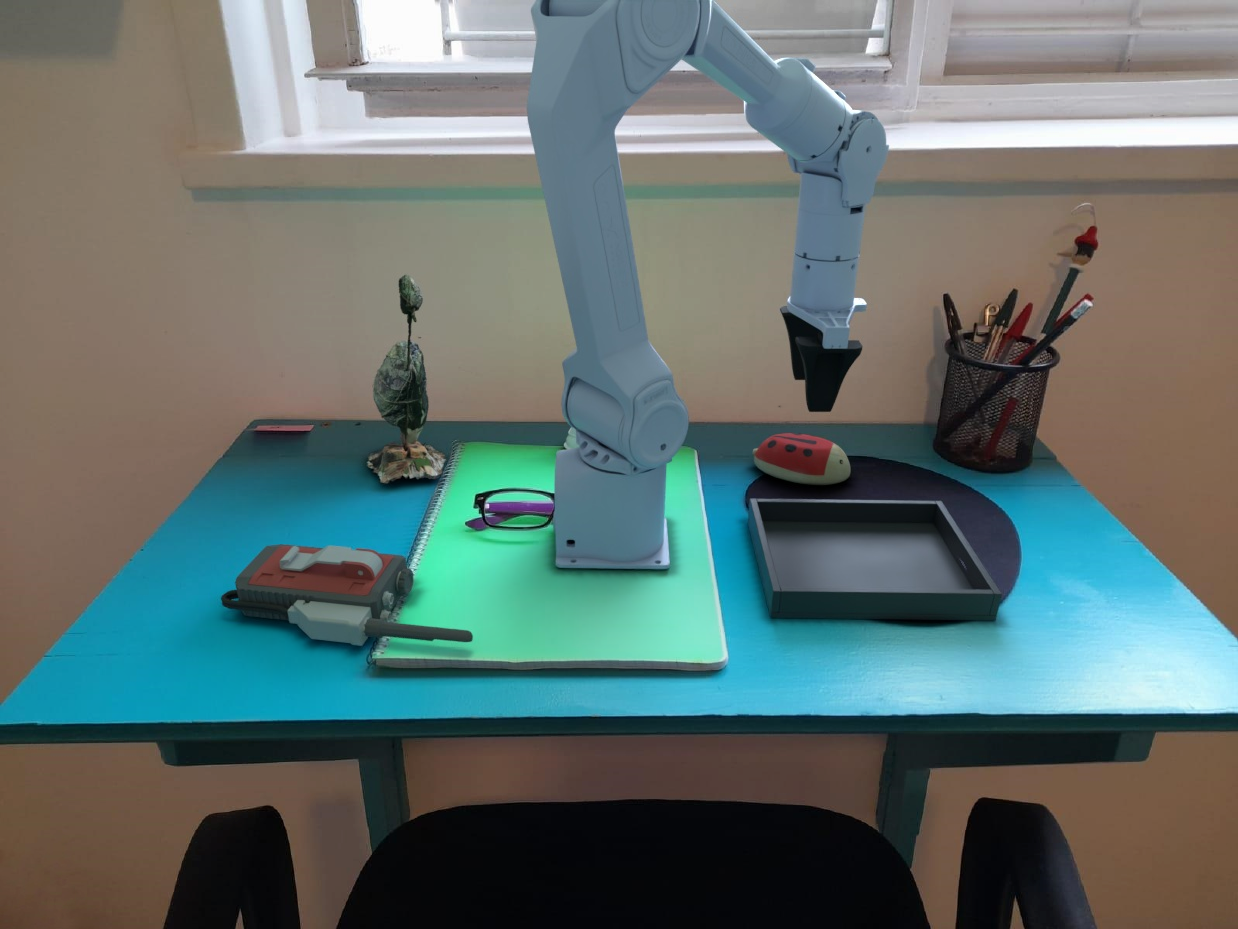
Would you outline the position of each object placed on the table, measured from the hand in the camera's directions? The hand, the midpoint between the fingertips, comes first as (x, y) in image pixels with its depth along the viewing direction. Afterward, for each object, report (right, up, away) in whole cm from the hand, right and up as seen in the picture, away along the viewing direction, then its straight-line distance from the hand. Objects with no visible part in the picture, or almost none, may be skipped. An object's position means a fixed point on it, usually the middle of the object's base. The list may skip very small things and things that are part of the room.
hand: (811, 394), depth 84 cm
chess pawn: (-29, -11, -2) cm, 31 cm away
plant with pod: (-40, -7, +5) cm, 41 cm away
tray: (+2, -15, -11) cm, 19 cm away
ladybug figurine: (0, -8, +4) cm, 9 cm away
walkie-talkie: (-38, -18, -17) cm, 46 cm away
